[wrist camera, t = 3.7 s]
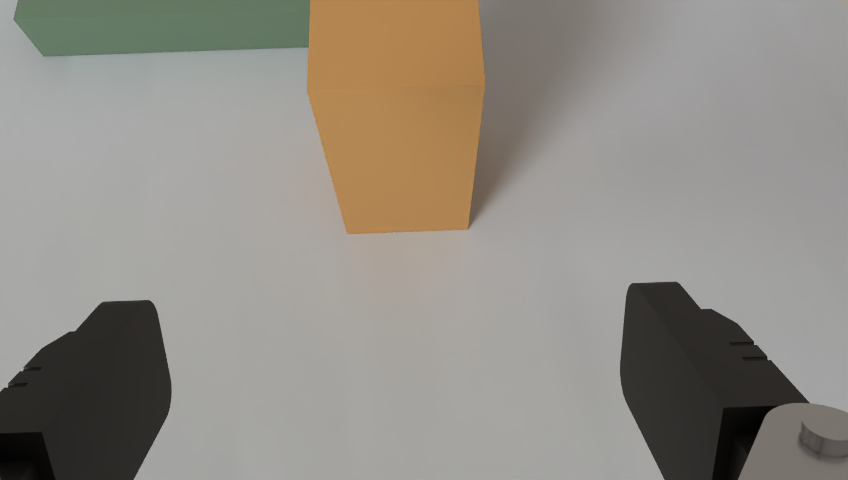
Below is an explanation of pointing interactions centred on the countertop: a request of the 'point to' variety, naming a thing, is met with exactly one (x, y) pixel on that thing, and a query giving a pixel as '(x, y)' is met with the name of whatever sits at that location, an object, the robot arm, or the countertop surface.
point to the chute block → (398, 109)
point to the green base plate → (162, 25)
